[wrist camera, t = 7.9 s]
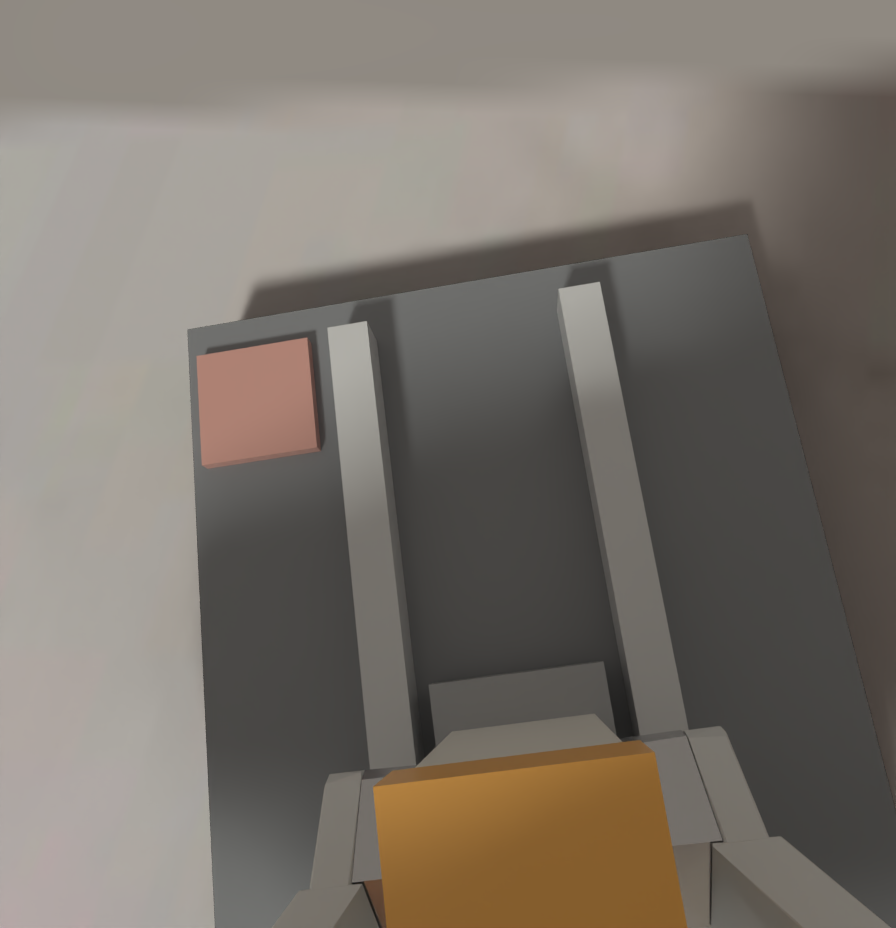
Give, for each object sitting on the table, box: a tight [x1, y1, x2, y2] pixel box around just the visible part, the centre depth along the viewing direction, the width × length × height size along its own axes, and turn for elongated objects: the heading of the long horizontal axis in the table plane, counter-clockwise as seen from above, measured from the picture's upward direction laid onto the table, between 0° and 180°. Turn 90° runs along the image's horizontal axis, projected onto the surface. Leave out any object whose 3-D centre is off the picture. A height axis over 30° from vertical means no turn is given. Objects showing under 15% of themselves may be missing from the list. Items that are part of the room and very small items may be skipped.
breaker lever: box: [373, 661, 687, 928], centre depth 10 cm, size 4×3×7 cm
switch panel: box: [188, 234, 896, 928], centre depth 14 cm, size 20×12×3 cm, turn 8°
